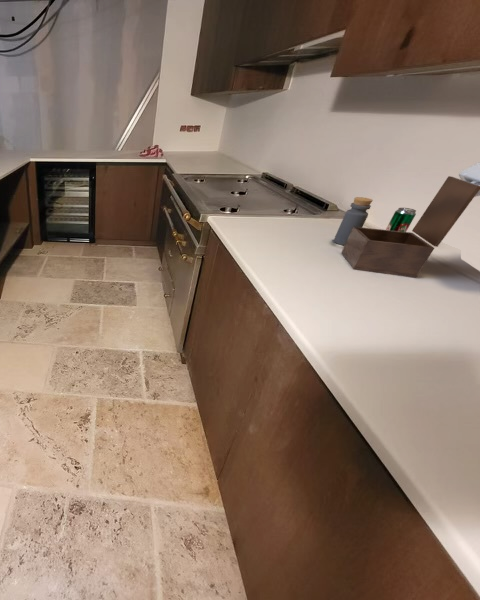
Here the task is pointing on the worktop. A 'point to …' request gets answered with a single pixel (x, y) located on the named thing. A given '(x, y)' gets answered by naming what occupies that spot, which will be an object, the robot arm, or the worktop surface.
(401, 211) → the soda can
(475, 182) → the robot arm
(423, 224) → the lid
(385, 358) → the worktop surface
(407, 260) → the brown wooden box
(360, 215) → the bottle
